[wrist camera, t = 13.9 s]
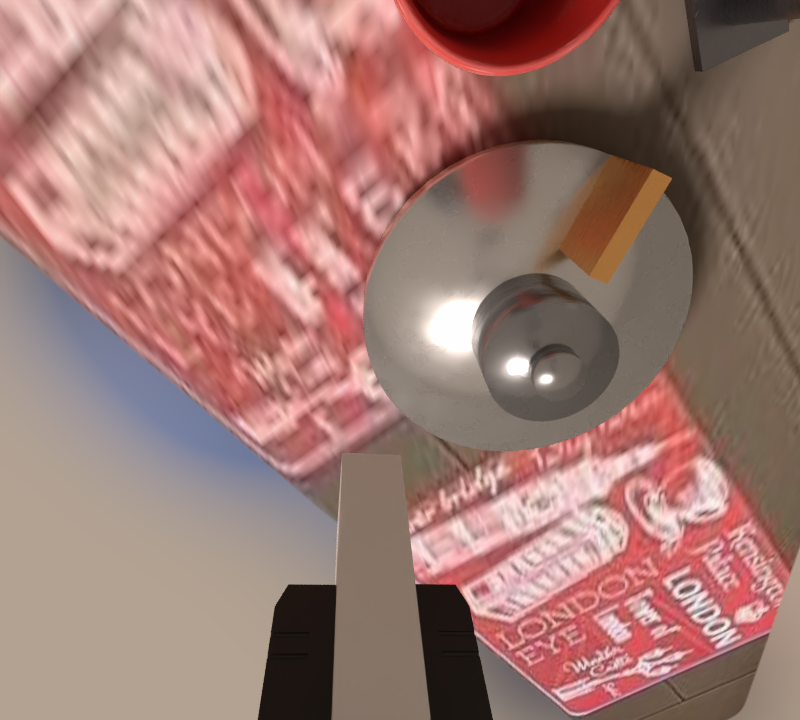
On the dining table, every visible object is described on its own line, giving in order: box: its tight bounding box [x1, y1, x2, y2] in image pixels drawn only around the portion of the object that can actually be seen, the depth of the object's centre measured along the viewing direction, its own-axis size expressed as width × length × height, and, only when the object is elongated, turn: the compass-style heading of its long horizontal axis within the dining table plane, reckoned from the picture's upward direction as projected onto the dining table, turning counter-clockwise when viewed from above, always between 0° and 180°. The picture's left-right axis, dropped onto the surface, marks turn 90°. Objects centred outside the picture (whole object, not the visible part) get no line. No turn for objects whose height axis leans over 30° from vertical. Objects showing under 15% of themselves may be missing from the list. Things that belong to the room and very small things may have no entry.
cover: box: [470, 273, 619, 421], centre depth 33 cm, size 8×8×6 cm
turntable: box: [363, 140, 693, 451], centre depth 34 cm, size 22×22×7 cm
